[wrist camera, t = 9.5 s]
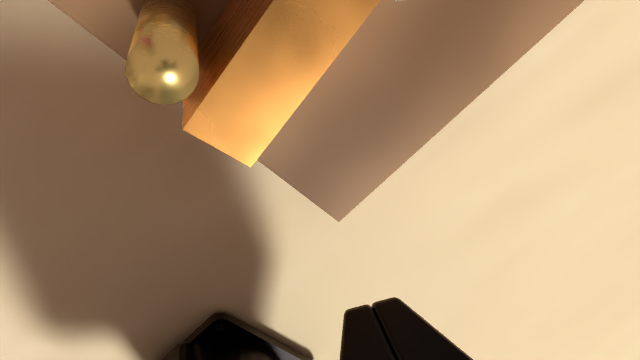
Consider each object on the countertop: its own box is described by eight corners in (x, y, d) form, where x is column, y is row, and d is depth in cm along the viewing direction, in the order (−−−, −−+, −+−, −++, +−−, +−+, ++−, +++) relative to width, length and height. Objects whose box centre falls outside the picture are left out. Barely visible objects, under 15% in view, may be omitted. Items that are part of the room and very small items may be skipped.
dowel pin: (206, 9, 17) (213, 69, 12) (173, 46, 17) (168, 117, 13) (164, -29, 16) (156, 21, 12) (131, 11, 17) (110, 74, 12)
